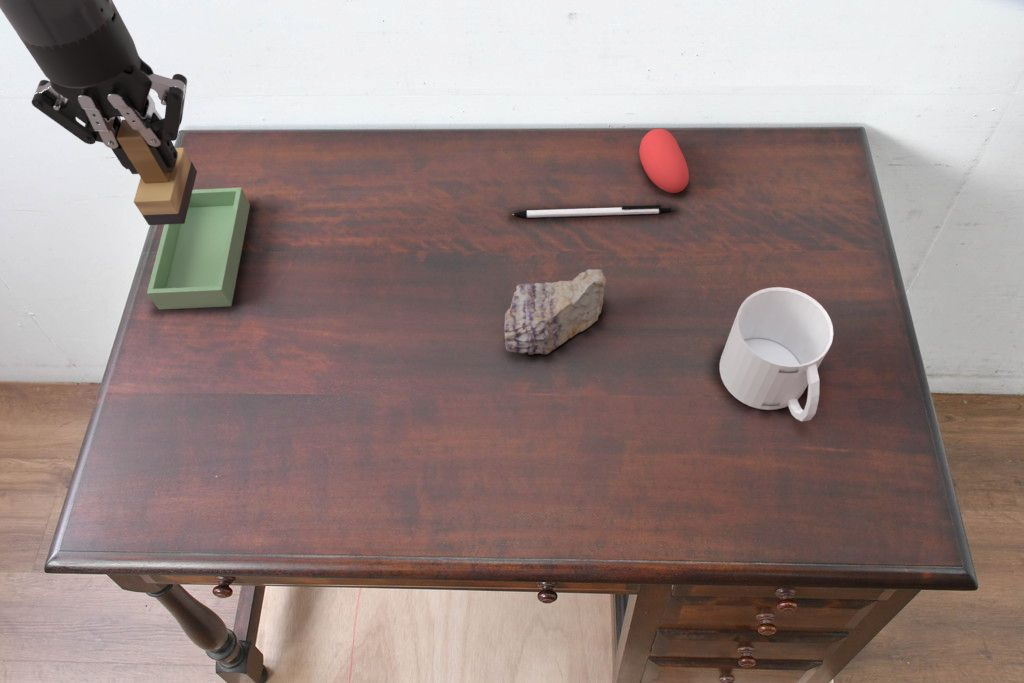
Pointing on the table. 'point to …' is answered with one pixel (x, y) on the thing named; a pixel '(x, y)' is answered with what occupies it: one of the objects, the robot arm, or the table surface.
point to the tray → (201, 252)
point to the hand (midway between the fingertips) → (154, 166)
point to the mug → (777, 351)
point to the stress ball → (664, 161)
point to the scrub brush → (158, 180)
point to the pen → (593, 211)
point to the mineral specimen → (553, 312)
